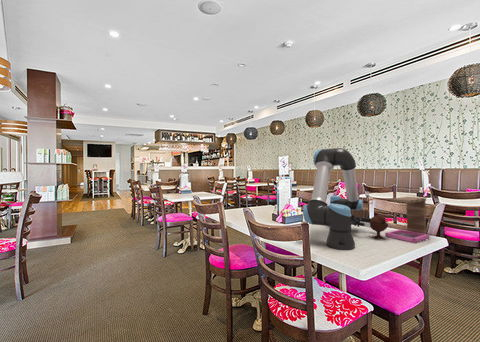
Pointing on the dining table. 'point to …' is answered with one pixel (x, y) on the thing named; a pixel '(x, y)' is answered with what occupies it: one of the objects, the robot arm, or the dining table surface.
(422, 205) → the display shelf
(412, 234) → the seat plate
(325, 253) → the dining table surface
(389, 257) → the dining table surface
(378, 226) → the ice cream bowl
